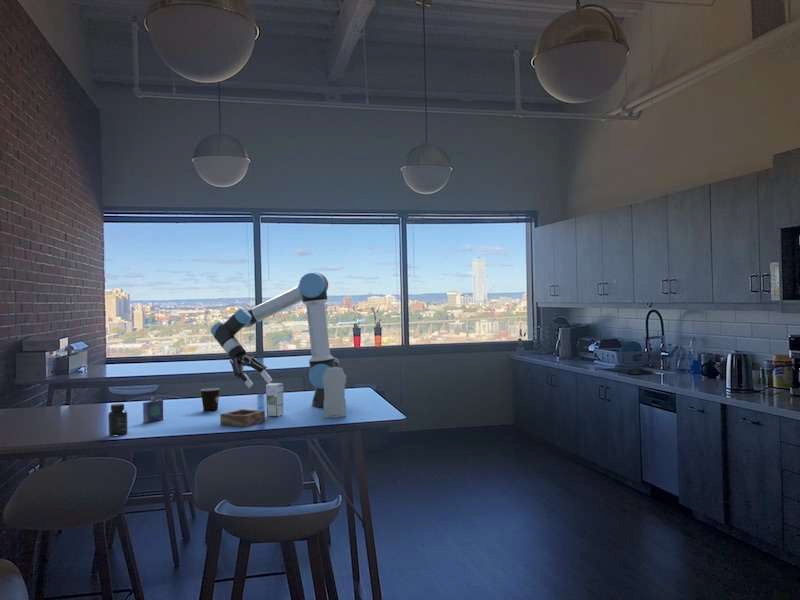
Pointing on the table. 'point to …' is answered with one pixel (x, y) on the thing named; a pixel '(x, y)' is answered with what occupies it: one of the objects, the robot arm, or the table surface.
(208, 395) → the coffee mug
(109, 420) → the supplement bottle
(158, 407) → the flask
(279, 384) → the white printed canister
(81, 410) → the table surface
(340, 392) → the tall pale column
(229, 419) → the socket block
